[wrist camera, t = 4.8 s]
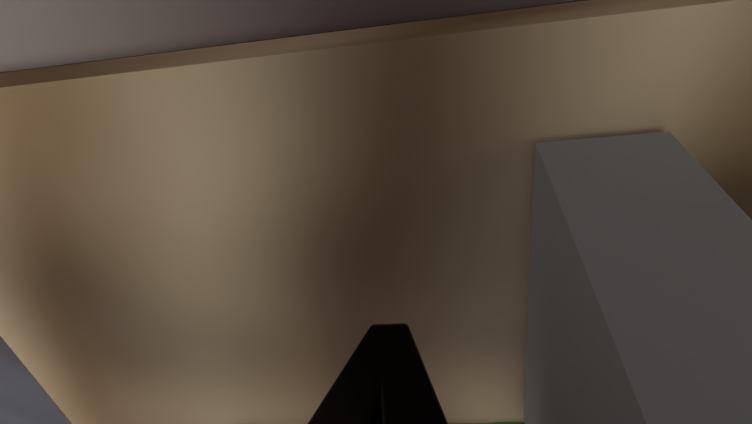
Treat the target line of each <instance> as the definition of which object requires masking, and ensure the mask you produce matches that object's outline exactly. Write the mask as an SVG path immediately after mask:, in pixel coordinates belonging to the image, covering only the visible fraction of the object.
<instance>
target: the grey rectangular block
mask: <svg viewBox="0 0 752 424" xmlns="http://www.w3.org/2000/svg"><path fill="white" fill-rule="evenodd" d="M524 422H525V424H752V220H751V219H750V218H749V217H748V216H747V214H746V213H745V212H744V211H743V210H742V209H741V208H740V207H739V206H738V205H737V204H736V203H735V202H734V200H733V199H732V198H731V197H730V196H729V195H728V194H727V193H726V192H725V191H724V190H723V189H722V188H721V186H720V185H719V184H718V183H717V182H716V181H715V180H714V179H713V178H712V177H711V176H710V175H709V173H708V172H707V171H706V170H705V169H704V168H703V167H702V166H701V165H700V164H699V163H698V162H697V161H696V159H695V158H694V157H693V156H692V155H691V154H690V153H689V152H688V151H687V150H686V149H685V148H684V146H683V145H682V144H681V143H680V142H679V141H678V140H677V139H676V138H675V137H674V136H673V135H672V134H671V132H670V131H669V132H657V133H645V134H633V135H621V136H609V137H597V138H586V139H574V140H562V141H550V142H538V143H535V165H534V187H533V210H532V233H531V256H530V279H529V302H528V325H527V348H526V371H525V394H524Z"/></svg>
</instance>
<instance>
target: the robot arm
mask: <svg viewBox="0 0 752 424" xmlns="http://www.w3.org/2000/svg"><path fill="white" fill-rule="evenodd" d="M308 424H448V422H447V420H446V417H445V415H444V413H443V410H442V408H441V405H440V403H439V400H438V398H437V395H436V393H435V390H434V388H433V385H432V383H431V380H430V378H429V375H428V373H427V370H426V368H425V365H424V363H423V361H422V358H421V356H420V353H419V351H418V348H417V346H416V343H415V341H414V338H413V336H412V333H411V331H410V328H409V326H408V325H407V324H406V323H396V324H373V325H371V326H370V327H369V329H368V330H367V332H366V333H365V335H364V336H363V338H362V340H361V341H360V343H359V344H358V346H357V347H356V349H355V351H354V352H353V354H352V355H351V357H350V358H349V360H348V361H347V363H346V365H345V366H344V368H343V369H342V371H341V372H340V374H339V375H338V377H337V379H336V380H335V382H334V383H333V385H332V386H331V388H330V389H329V391H328V393H327V394H326V396H325V397H324V399H323V400H322V402H321V403H320V405H319V407H318V408H317V410H316V411H315V413H314V414H313V416H312V417H311V419H310V421H309V422H308Z"/></svg>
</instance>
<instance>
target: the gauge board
mask: <svg viewBox="0 0 752 424" xmlns="http://www.w3.org/2000/svg"><path fill="white" fill-rule="evenodd" d="M669 131H670V132H671V134H672V135H673V136H674V137H675V138H676V139H677V140H678V141H679V142H680V143H681V144H682V145H683V146H684V148H685V149H686V150H687V151H688V152H689V153H690V154H691V155H692V156H693V157H694V158H695V159H696V161H697V162H698V163H699V164H700V165H701V166H702V167H703V168H704V169H705V170H706V171H707V172H708V173H709V175H710V176H711V177H712V178H713V179H714V180H715V181H716V182H717V183H718V184H719V185H720V186H721V188H722V189H723V190H724V191H725V192H726V193H727V194H728V195H729V196H730V197H731V198H732V199H733V200H734V202H735V203H736V204H737V205H738V206H739V207H740V208H741V209H742V210H743V211H744V212H745V213H746V214H747V216H748V217H749V218H750V219H751V220H752V0H586V1H578V2H570V3H562V4H554V5H546V6H538V7H530V8H522V9H514V10H505V11H497V12H489V13H481V14H473V15H465V16H457V17H449V18H441V19H433V20H425V21H417V22H409V23H401V24H393V25H384V26H376V27H368V28H360V29H352V30H344V31H336V32H328V33H320V34H312V35H304V36H296V37H288V38H280V39H272V40H263V41H255V42H247V43H239V44H231V45H223V46H215V47H207V48H199V49H191V50H183V51H175V52H167V53H159V54H151V55H142V56H134V57H126V58H118V59H110V60H102V61H94V62H86V63H78V64H70V65H62V66H54V67H46V68H38V69H30V70H21V71H13V72H5V73H0V336H1V337H2V338H3V339H4V341H5V342H6V343H7V344H8V346H9V347H10V348H11V349H12V351H13V352H14V353H15V354H16V355H17V357H18V358H19V359H20V360H21V362H22V363H23V364H24V365H25V366H26V368H27V369H28V370H29V371H30V373H31V374H32V375H33V376H34V377H35V379H36V380H37V381H38V382H39V384H40V385H41V386H42V387H43V388H44V390H45V391H46V392H47V393H48V395H49V396H50V397H51V398H52V399H53V401H54V402H55V403H56V404H57V406H58V407H59V408H60V409H61V410H62V412H63V413H64V414H65V415H66V417H67V418H68V419H69V420H70V421H71V423H72V424H308V422H309V421H310V419H311V417H312V416H313V414H314V413H315V411H316V410H317V408H318V407H319V405H320V403H321V402H322V400H323V399H324V397H325V396H326V394H327V393H328V391H329V389H330V388H331V386H332V385H333V383H334V382H335V380H336V379H337V377H338V375H339V374H340V372H341V371H342V369H343V368H344V366H345V365H346V363H347V361H348V360H349V358H350V357H351V355H352V354H353V352H354V351H355V349H356V347H357V346H358V344H359V343H360V341H361V340H362V338H363V336H364V335H365V333H366V332H367V330H368V329H369V327H370V326H371V325H373V324H396V323H406V324H407V325H408V326H409V328H410V331H411V333H412V336H413V338H414V341H415V343H416V346H417V348H418V351H419V353H420V356H421V358H422V361H423V363H424V365H425V368H426V370H427V373H428V375H429V378H430V380H431V383H432V385H433V388H434V390H435V393H436V395H437V398H438V400H439V403H440V405H441V408H442V410H443V413H444V415H445V417H446V420H447V422H448V424H525V422H524V394H525V371H526V348H527V325H528V302H529V279H530V256H531V233H532V210H533V187H534V165H535V143H538V142H550V141H562V140H574V139H586V138H597V137H609V136H621V135H633V134H645V133H657V132H669Z"/></svg>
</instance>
